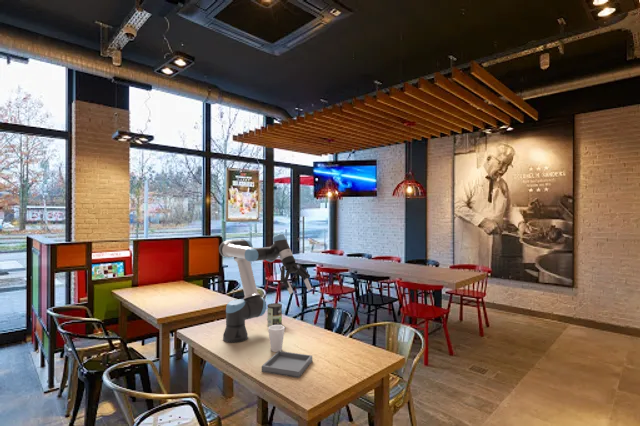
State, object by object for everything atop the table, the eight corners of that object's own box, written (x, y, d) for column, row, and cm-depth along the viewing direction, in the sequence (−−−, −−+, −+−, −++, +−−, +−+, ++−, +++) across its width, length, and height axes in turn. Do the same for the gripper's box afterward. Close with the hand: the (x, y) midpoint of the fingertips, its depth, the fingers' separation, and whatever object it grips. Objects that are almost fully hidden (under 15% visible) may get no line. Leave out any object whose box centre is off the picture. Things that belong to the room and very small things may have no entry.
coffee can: (283, 323, 251) (283, 303, 251) (279, 327, 241) (279, 307, 241) (270, 322, 253) (270, 302, 253) (265, 326, 243) (265, 306, 243)
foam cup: (270, 353, 197) (270, 330, 196) (266, 348, 205) (266, 325, 205) (286, 351, 200) (286, 328, 200) (281, 345, 209) (281, 323, 209)
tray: (261, 371, 174) (261, 365, 174) (278, 356, 194) (278, 350, 194) (298, 378, 168) (298, 371, 168) (312, 361, 187) (312, 355, 187)
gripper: (273, 256, 193) (286, 291, 184) (306, 253, 210) (320, 285, 201) (266, 263, 197) (279, 298, 188) (300, 259, 214) (313, 290, 205)
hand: (301, 291), depth 194 cm, fingers open, 13 cm apart
